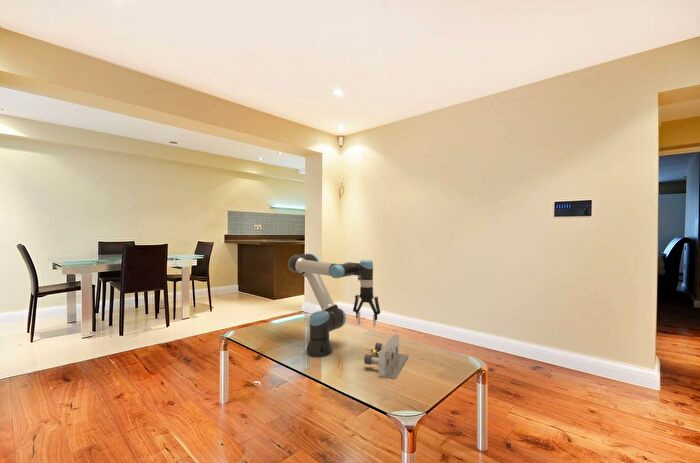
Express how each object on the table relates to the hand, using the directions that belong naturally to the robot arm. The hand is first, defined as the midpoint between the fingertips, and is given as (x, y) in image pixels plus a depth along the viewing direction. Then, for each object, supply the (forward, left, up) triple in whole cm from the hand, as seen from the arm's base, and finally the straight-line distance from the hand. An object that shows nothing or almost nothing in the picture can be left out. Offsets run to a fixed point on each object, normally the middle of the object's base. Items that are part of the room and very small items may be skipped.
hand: (366, 324), depth 185 cm
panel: (+19, -9, -17) cm, 27 cm away
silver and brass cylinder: (+12, -9, -14) cm, 21 cm away
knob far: (+12, 0, -15) cm, 19 cm away
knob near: (+12, -18, -15) cm, 26 cm away
